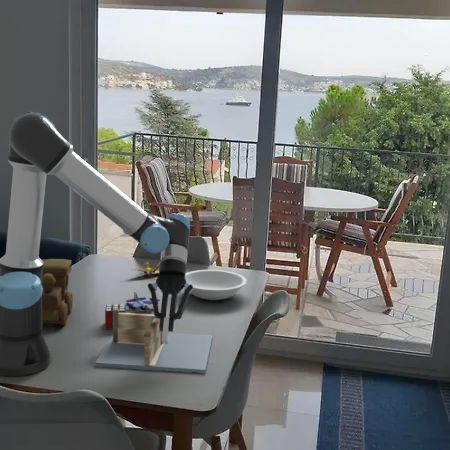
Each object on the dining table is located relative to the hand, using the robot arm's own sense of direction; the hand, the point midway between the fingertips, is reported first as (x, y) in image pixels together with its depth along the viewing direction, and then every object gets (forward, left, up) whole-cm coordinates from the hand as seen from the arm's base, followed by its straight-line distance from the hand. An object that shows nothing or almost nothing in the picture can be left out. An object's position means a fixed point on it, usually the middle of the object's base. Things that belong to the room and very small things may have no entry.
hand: (164, 342), depth 161 cm
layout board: (-3, +8, -6) cm, 11 cm away
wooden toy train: (-40, +28, -7) cm, 49 cm away
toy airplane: (-13, +38, -7) cm, 41 cm away
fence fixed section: (-9, +11, -5) cm, 16 cm away
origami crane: (-18, +78, -7) cm, 80 cm away
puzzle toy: (-19, +25, -7) cm, 32 cm away
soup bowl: (+8, +57, -7) cm, 58 cm away
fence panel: (-4, +3, -5) cm, 7 cm away
